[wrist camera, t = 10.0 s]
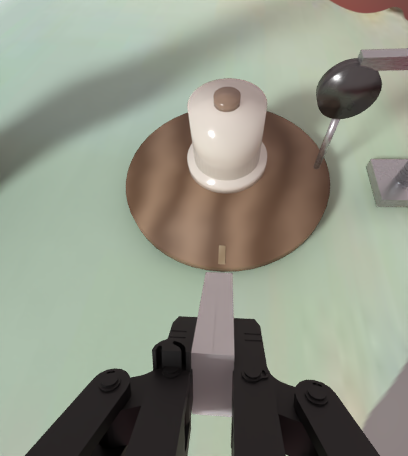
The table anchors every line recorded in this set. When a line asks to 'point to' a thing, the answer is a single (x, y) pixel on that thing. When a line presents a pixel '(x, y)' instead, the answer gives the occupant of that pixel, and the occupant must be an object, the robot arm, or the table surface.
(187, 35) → the table surface
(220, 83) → the canister
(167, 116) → the table surface
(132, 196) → the turntable
